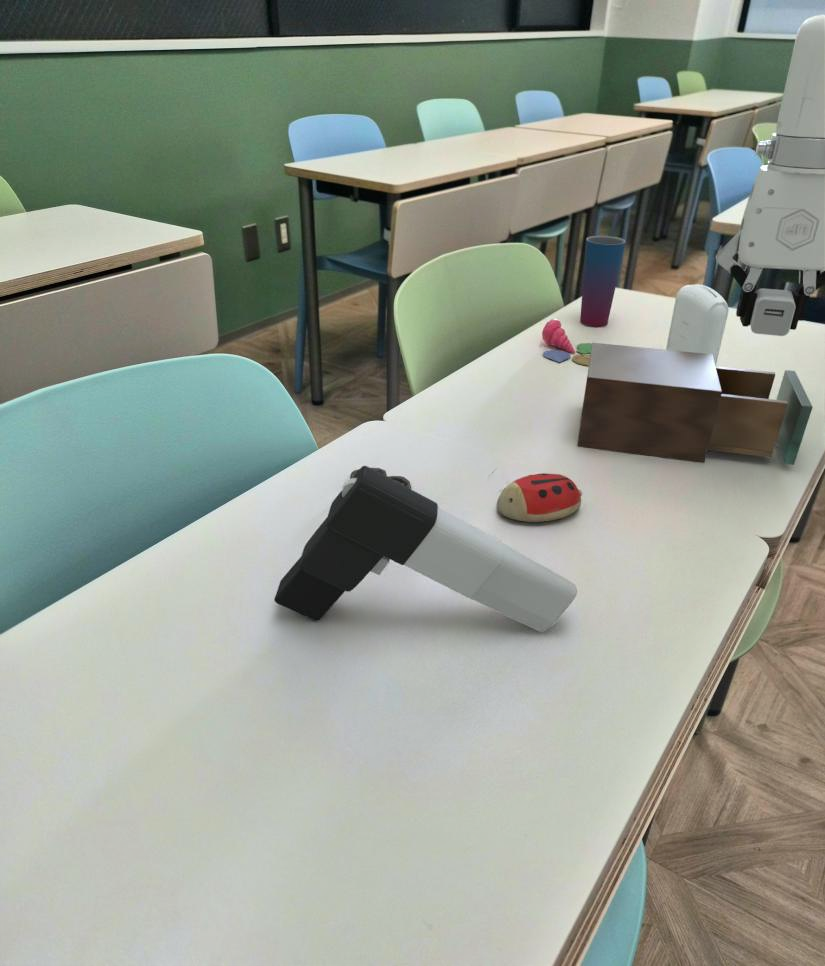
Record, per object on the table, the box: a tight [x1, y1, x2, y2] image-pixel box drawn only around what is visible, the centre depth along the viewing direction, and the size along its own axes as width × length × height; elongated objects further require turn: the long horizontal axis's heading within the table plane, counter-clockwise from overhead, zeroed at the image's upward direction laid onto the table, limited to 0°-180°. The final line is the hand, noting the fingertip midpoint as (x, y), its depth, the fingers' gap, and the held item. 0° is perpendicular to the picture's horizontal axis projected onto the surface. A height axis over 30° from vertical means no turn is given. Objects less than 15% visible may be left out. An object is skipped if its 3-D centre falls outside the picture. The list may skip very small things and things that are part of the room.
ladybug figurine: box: [496, 473, 583, 523], centre depth 80 cm, size 7×10×4 cm
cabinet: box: [576, 342, 722, 463], centre depth 95 cm, size 16×13×10 cm
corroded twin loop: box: [349, 467, 412, 490], centre depth 84 cm, size 5×8×1 cm, turn 54°
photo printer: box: [665, 283, 729, 366], centre depth 116 cm, size 10×4×12 cm, turn 13°
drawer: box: [707, 365, 813, 466], centre depth 93 cm, size 16×11×8 cm
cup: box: [579, 235, 627, 328], centre depth 132 cm, size 7×7×15 cm
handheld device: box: [274, 465, 578, 633], centre depth 64 cm, size 4×22×15 cm, turn 87°
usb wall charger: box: [750, 287, 796, 337], centre depth 84 cm, size 4×7×4 cm, turn 160°
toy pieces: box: [541, 318, 593, 367], centre depth 122 cm, size 12×11×4 cm
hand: (767, 322), depth 85 cm, fingers closed on usb wall charger, 4 cm apart
